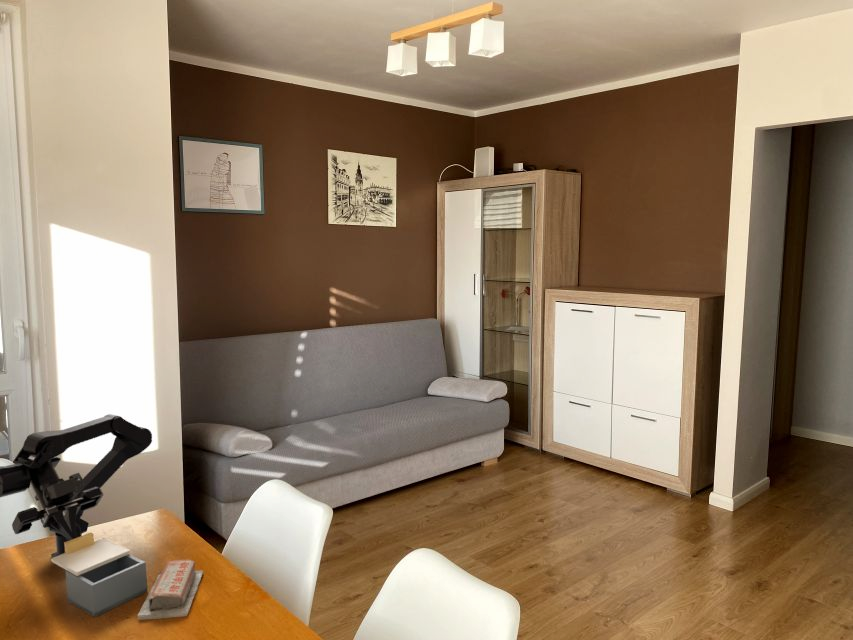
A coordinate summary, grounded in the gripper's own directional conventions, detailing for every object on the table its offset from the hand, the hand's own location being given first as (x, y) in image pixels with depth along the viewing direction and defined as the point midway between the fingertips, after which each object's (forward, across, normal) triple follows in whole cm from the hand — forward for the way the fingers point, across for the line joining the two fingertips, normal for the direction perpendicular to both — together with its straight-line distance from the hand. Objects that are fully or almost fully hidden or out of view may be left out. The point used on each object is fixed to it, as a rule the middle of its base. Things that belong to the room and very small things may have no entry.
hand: (74, 540), depth 151 cm
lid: (+7, 0, -3) cm, 7 cm away
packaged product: (+25, +8, -10) cm, 28 cm away
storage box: (+16, 0, -2) cm, 16 cm away
